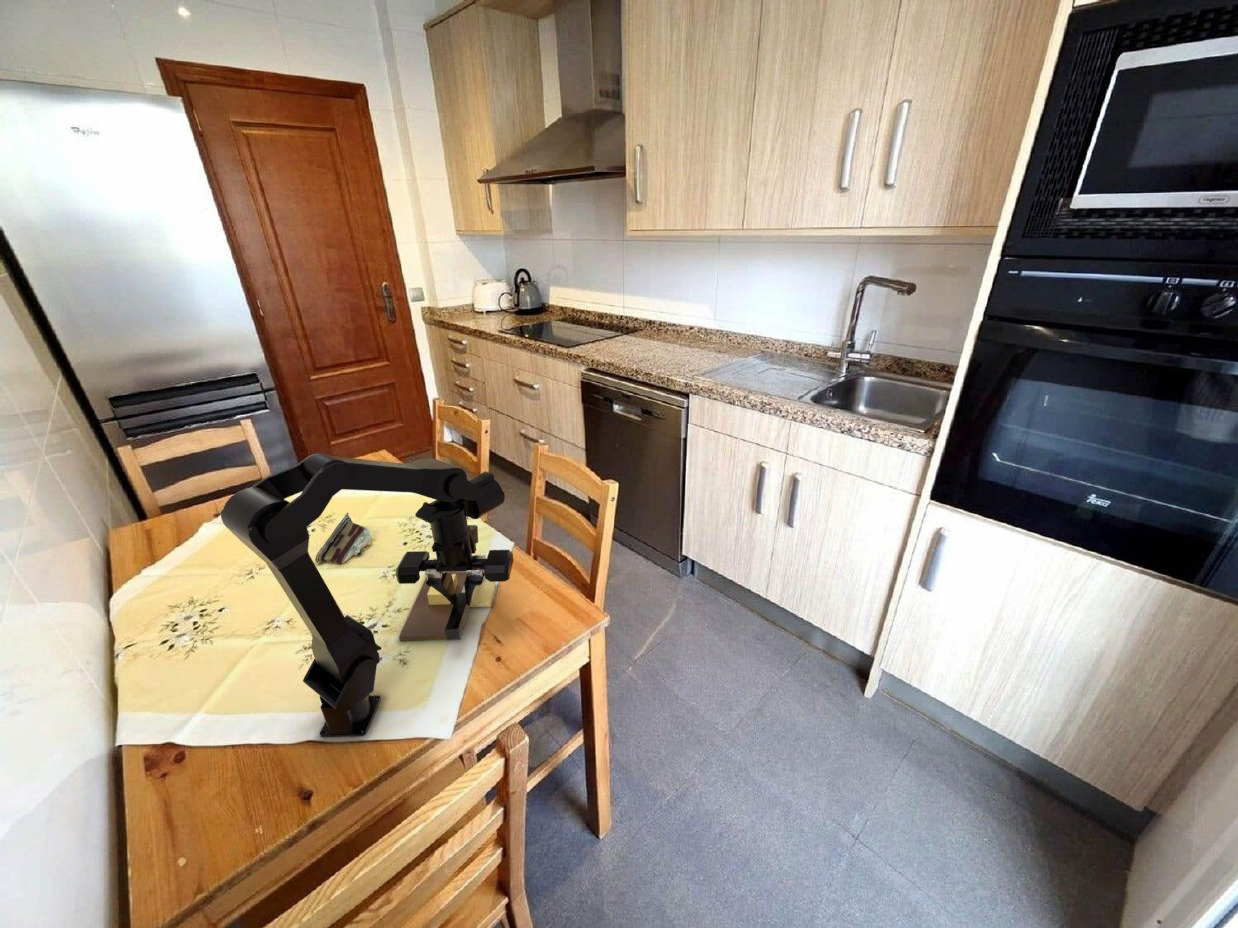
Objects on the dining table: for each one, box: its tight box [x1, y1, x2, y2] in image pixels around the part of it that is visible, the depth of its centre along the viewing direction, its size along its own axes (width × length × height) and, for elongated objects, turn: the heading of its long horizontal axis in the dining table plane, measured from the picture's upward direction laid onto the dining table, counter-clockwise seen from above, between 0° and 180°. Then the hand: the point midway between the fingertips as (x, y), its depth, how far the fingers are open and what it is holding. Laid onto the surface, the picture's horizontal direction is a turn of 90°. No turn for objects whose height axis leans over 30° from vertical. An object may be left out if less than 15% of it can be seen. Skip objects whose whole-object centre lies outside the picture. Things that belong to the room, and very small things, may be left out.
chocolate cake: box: [314, 512, 372, 565], centre depth 112 cm, size 10×7×12 cm
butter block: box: [427, 574, 458, 605], centre depth 98 cm, size 6×4×2 cm, turn 3°
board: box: [398, 572, 468, 642], centre depth 97 cm, size 18×10×1 cm, turn 3°
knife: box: [445, 586, 477, 641], centre depth 93 cm, size 21×2×2 cm, turn 3°
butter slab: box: [470, 581, 497, 608], centre depth 99 cm, size 6×4×1 cm, turn 3°
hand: (462, 603), depth 90 cm, fingers closed on knife, 2 cm apart
